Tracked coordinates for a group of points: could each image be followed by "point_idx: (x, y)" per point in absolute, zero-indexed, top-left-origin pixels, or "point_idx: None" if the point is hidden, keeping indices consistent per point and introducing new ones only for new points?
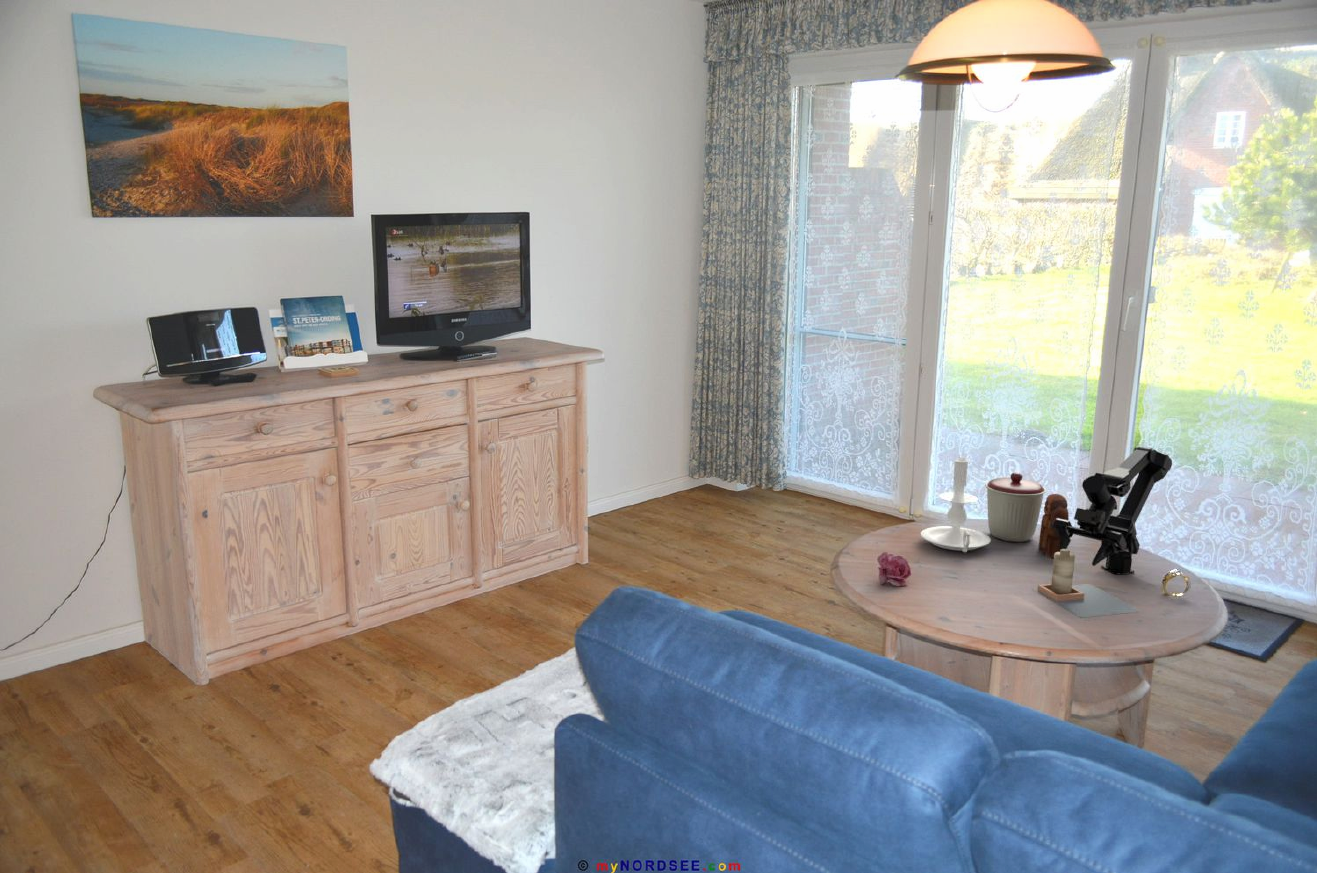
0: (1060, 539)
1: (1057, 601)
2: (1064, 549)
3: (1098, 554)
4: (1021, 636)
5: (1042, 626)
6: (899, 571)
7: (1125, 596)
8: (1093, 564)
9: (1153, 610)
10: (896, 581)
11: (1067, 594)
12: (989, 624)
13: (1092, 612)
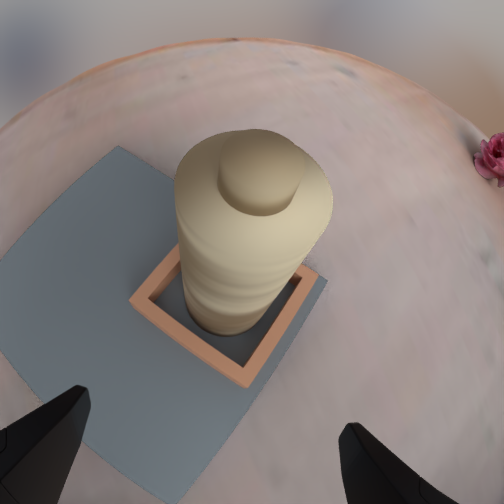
0: (439, 496)
1: None
2: (282, 181)
3: (26, 426)
4: (217, 57)
5: (198, 94)
6: (492, 145)
7: None
8: (78, 387)
9: None
10: (482, 155)
11: None
12: (285, 72)
13: (90, 196)
